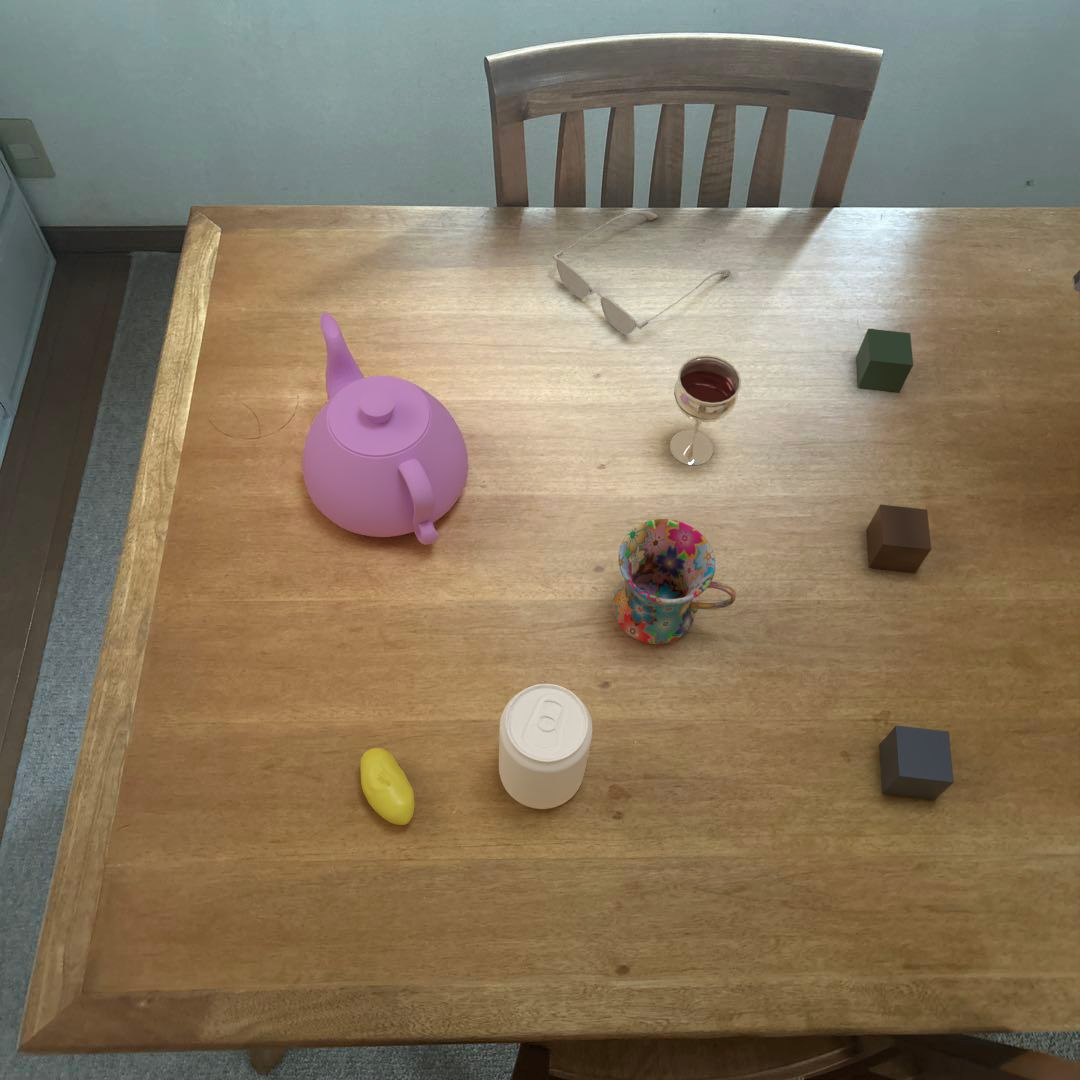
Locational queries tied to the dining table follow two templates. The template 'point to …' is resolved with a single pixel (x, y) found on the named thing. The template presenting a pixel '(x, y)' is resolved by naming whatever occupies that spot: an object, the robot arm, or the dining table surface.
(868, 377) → the green block
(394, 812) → the yellow potato
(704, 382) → the wineglass
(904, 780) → the block
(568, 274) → the eyeglasses
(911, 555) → the walnut block
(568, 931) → the dining table surface
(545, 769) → the beverage can
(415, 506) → the teapot
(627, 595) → the mug
